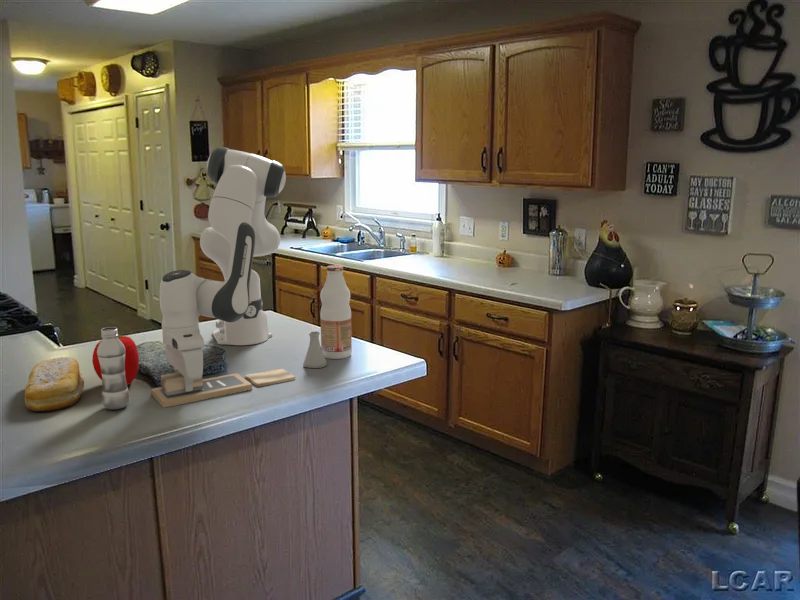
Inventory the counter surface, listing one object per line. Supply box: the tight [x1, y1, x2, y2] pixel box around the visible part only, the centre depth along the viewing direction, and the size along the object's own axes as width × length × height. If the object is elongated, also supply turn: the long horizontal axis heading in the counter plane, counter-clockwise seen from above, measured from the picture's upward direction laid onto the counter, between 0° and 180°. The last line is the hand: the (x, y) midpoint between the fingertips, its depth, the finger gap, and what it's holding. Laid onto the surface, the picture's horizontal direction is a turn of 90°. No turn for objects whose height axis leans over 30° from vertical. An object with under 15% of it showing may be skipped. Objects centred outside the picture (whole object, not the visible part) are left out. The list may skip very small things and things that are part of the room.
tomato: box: [92, 334, 140, 386], centre depth 176 cm, size 13×11×14 cm
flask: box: [302, 330, 328, 369], centre depth 194 cm, size 7×7×10 cm
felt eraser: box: [160, 372, 204, 396], centre depth 169 cm, size 5×9×4 cm, turn 124°
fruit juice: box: [319, 264, 353, 360], centre depth 202 cm, size 9×9×28 cm
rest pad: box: [244, 367, 296, 388], centre depth 183 cm, size 9×11×1 cm
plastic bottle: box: [97, 326, 131, 411], centre depth 160 cm, size 6×7×20 cm
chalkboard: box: [151, 372, 253, 408], centre depth 173 cm, size 11×23×2 cm, turn 124°
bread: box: [24, 356, 85, 413], centre depth 170 cm, size 13×26×8 cm, turn 26°
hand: (184, 386), depth 170 cm, fingers closed on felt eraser, 5 cm apart
